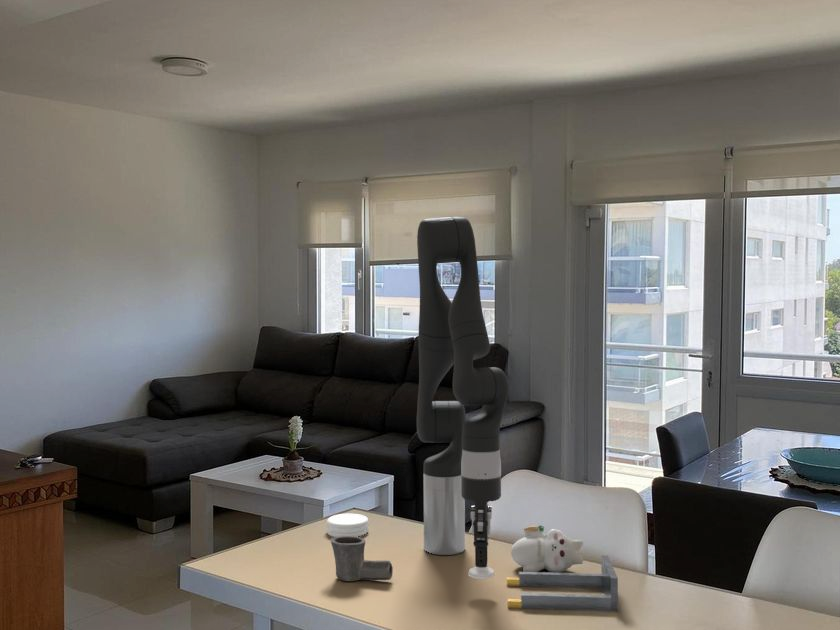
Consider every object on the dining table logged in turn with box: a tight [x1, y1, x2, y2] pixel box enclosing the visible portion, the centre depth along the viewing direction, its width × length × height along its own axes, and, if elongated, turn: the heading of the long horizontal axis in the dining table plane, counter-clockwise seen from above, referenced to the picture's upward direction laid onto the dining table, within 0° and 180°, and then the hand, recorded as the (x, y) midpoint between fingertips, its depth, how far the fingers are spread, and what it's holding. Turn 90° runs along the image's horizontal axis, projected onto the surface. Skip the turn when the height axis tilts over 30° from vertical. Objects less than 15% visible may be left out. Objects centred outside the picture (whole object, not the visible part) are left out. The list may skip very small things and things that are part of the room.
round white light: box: [326, 513, 370, 538], centre depth 190 cm, size 10×10×4 cm
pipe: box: [329, 536, 394, 582], centre depth 158 cm, size 6×13×8 cm, turn 77°
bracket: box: [506, 555, 619, 612], centre depth 148 cm, size 12×20×6 cm, turn 85°
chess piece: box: [467, 538, 495, 580], centre depth 149 cm, size 5×5×10 cm
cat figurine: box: [510, 524, 584, 573], centre depth 163 cm, size 10×8×15 cm
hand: (481, 563), depth 149 cm, fingers closed on chess piece
